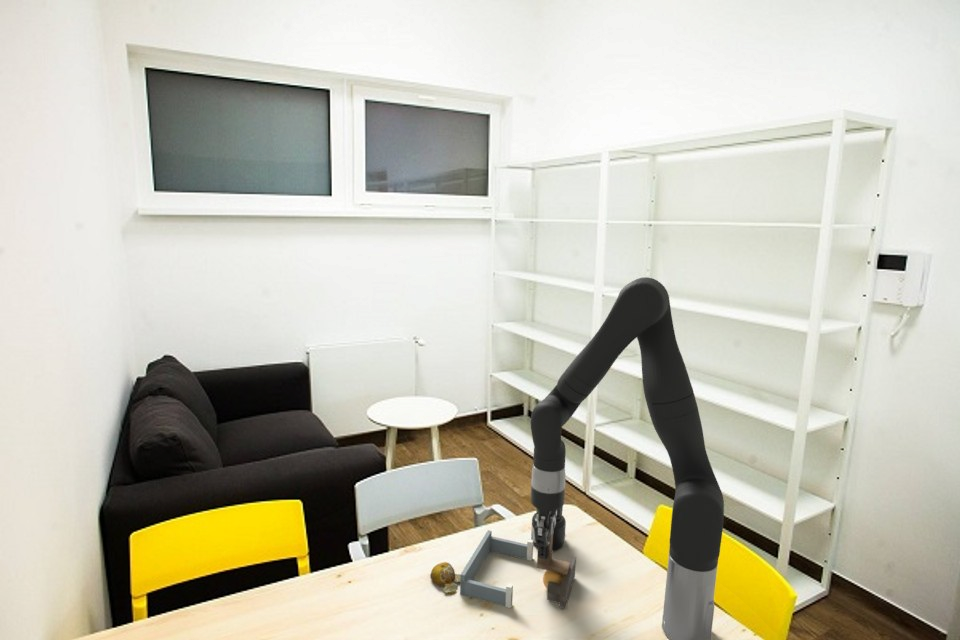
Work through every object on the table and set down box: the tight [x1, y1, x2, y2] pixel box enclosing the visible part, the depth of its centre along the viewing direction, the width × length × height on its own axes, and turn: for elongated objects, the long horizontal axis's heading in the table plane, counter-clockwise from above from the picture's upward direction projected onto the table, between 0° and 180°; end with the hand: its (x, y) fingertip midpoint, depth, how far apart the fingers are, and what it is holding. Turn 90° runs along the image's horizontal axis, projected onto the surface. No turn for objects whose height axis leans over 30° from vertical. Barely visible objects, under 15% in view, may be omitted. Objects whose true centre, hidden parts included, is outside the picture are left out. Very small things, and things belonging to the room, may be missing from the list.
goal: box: [459, 529, 534, 609], centre depth 129 cm, size 12×19×5 cm, turn 160°
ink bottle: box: [530, 507, 567, 552], centre depth 143 cm, size 10×9×12 cm
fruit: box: [429, 561, 461, 595], centre depth 127 cm, size 8×8×4 cm
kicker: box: [536, 529, 577, 610], centre depth 124 cm, size 8×12×14 cm, turn 160°
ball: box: [542, 570, 564, 589], centre depth 125 cm, size 5×5×5 cm
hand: (544, 553), depth 124 cm, fingers closed on kicker, 3 cm apart
